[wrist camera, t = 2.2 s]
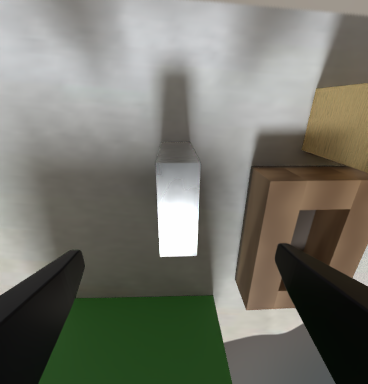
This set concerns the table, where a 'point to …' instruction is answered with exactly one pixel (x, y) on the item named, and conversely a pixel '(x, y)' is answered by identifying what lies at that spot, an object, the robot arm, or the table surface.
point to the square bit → (339, 125)
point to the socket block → (299, 225)
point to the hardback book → (140, 342)
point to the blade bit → (177, 198)
